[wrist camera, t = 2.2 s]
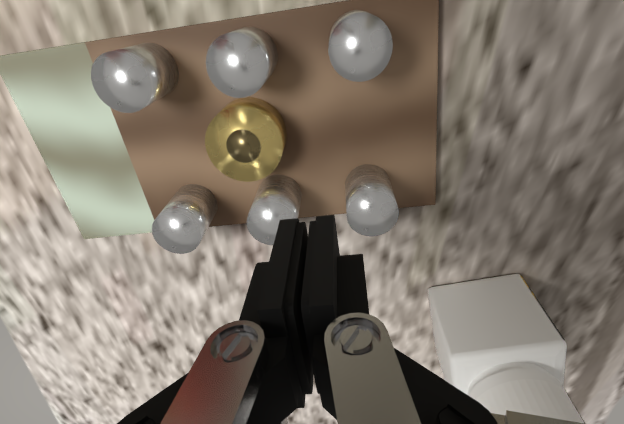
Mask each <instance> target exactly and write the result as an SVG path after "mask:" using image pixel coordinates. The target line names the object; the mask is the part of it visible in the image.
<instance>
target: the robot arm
mask: <svg viewBox="0 0 624 424" xmlns="http://www.w3.org/2000/svg"><path fill="white" fill-rule="evenodd" d="M313 374H314V378H315V383H316V388H317V392H318V394H320V396H321V401H322V406H323V408H325V409H326V410H327V411H328V412H329V413H330V414H331V415H332V416H333V417H334V418H335V419H336V420H337V422H338V424H585V423H579V422H573V421H567V420H561V419H555V418H549V417H543V416H537V415H532V414H526V413H520V412H514V411H508V410H506V415H500V414H494V413H490V411H489V410H488V409H486V408H485V407H484V406H483V405H482V404H480V403H479V402H478V401H476V400H475V399H473V398H472V397H470V396H468V395H467V394H465V393H464V392H462V391H461V390H459V389H457V388H456V387H454V386H453V385H451V384H450V383H448V382H447V381H445V380H443V379H442V378H440V377H439V376H437V375H436V374H434V373H432V372H431V371H429V370H428V369H426V368H425V367H423V366H422V365H420V364H418V363H417V362H415V361H414V360H412V359H411V358H409V357H407V356H406V355H404V354H403V353H401V352H400V351H398V350H397V349H395V348H393V345H392V342H391V339H390V337H389V334H388V331H387V329H386V327H385V326H384V324H383V323H382V322H381V321H380V320H379V319H377V318H376V317H374V316H371V315H369V308H368V299H367V290H366V281H365V271H364V262H363V254H356V255H344V256H340V254H339V246H338V239H337V231H336V223H335V216H334V215H324V216H316V221H310V225H309V234H307V228H306V224H305V222H299V220H298V218H293V219H283V220H280V221H279V225H278V229H277V233H276V237H275V241H274V245H273V249H272V253H271V257H270V261H269V262H261V263H257V264H256V266H255V269H254V272H253V276H252V279H251V282H250V286H249V289H248V292H247V296H246V299H245V302H244V306H243V309H242V312H241V316H240V319H239V321H234V322H231V323H227V324H225V325H224V326H222V327H220V328H218V329H217V330H216V331H215V332H213V333H212V334H211V336H210V337H209V338H208V340H207V341H206V343H205V344H204V346H203V348H202V350H201V352H200V353H199V355H198V357H197V359H196V361H195V362H194V364H193V366H192V368H191V370H190V371H189V373H187V374H186V375H184V376H183V377H181V378H180V379H179V380H177V381H176V382H174V383H173V384H171V385H170V386H168V387H167V388H166V389H164V390H163V391H161V392H160V393H158V394H157V395H156V396H154V397H153V398H151V399H150V400H148V401H147V402H146V403H144V404H143V405H141V406H140V407H138V408H137V409H135V410H134V411H133V412H131V413H130V414H128V415H127V416H126V417H124V418H123V419H122V420H121V421H120V422H118V423H117V424H288V420H287V417H288V416H289V415H290V414H291V413H292V412H293V411H294V410H295V409H296V408H304V406H305V394H312V390H313Z"/></svg>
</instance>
